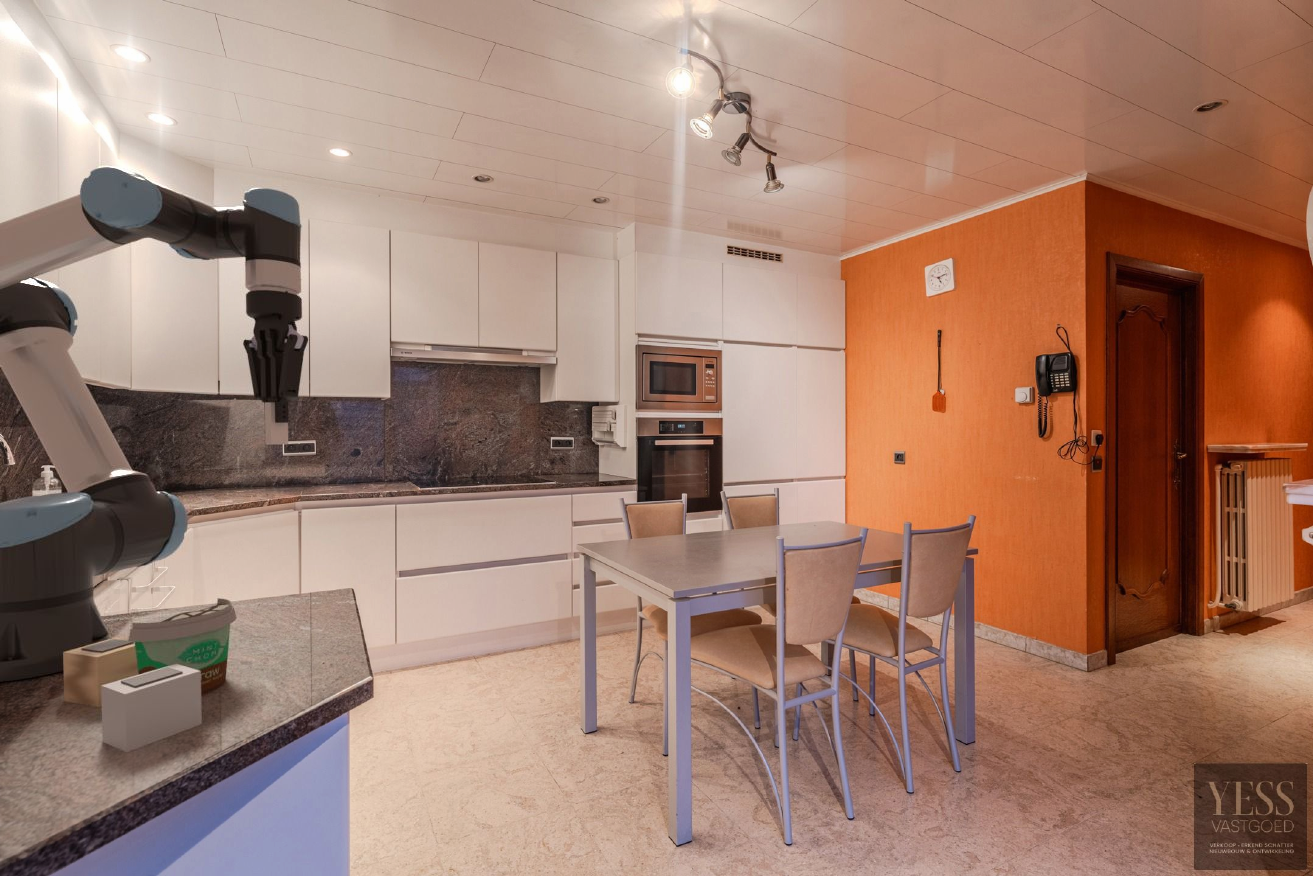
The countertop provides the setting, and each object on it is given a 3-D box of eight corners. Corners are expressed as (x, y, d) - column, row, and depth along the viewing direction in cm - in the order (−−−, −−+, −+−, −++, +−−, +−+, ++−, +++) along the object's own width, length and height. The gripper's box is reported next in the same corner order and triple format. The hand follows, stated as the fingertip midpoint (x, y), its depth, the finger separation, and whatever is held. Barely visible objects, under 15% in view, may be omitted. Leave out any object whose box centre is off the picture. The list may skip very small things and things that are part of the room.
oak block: (64, 701, 78) (63, 650, 78) (118, 682, 84) (117, 635, 84) (98, 707, 76) (97, 655, 76) (151, 688, 82) (150, 639, 82)
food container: (171, 714, 74) (169, 627, 74) (129, 709, 75) (127, 624, 75) (260, 674, 86) (259, 599, 86) (223, 670, 87) (221, 597, 87)
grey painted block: (102, 742, 67) (101, 683, 67) (177, 715, 74) (176, 662, 74) (126, 753, 65) (125, 692, 65) (201, 724, 71) (200, 669, 71)
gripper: (323, 293, 101) (326, 443, 101) (272, 301, 107) (275, 443, 107) (276, 283, 94) (279, 445, 95) (224, 293, 100) (227, 444, 101)
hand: (276, 444), depth 101 cm, fingers closed
